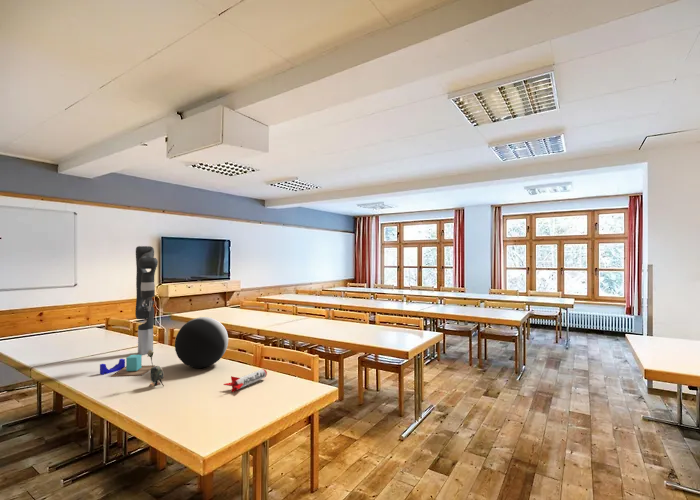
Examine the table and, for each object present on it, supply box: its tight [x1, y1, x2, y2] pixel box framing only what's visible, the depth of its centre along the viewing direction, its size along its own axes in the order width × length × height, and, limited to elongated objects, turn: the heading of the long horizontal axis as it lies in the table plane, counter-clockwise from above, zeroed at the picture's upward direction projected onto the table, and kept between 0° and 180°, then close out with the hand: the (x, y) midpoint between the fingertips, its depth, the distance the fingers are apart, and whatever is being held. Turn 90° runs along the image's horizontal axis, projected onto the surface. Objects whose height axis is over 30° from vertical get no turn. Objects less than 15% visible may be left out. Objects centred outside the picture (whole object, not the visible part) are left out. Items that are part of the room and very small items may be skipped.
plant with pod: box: [146, 350, 165, 387], centre depth 177 cm, size 8×11×20 cm
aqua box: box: [125, 354, 143, 371], centre depth 200 cm, size 6×6×8 cm
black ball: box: [174, 316, 229, 369], centre depth 211 cm, size 30×30×30 cm
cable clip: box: [99, 358, 126, 375], centre depth 201 cm, size 12×4×6 cm, turn 153°
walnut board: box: [110, 364, 156, 378], centre depth 200 cm, size 16×16×1 cm
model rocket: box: [223, 368, 268, 393], centre depth 177 cm, size 11×23×10 cm, turn 149°
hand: (147, 317), depth 216 cm, fingers closed
